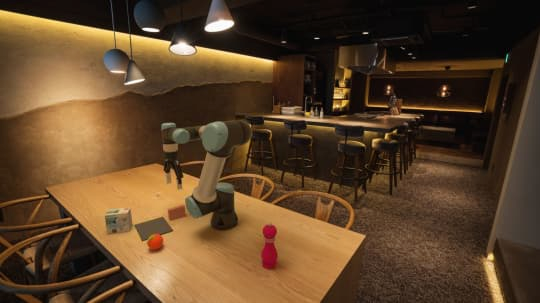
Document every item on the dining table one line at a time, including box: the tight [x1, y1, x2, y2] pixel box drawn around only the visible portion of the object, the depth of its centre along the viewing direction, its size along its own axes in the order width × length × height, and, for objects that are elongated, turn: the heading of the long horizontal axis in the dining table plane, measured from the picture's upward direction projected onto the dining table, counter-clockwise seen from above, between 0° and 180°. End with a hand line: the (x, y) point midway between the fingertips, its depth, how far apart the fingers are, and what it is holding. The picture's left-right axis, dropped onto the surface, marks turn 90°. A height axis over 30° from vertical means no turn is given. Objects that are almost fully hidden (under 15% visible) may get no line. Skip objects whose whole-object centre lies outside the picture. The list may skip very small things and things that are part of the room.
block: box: [167, 204, 187, 222], centre depth 143 cm, size 2×9×6 cm, turn 129°
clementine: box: [145, 234, 164, 251], centre depth 115 cm, size 8×7×7 cm
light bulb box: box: [104, 207, 134, 235], centre depth 130 cm, size 11×7×11 cm, turn 105°
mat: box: [133, 216, 174, 242], centre depth 133 cm, size 18×15×1 cm
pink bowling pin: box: [260, 221, 279, 270], centre depth 104 cm, size 7×7×20 cm
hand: (174, 186), depth 144 cm, fingers open, 13 cm apart
